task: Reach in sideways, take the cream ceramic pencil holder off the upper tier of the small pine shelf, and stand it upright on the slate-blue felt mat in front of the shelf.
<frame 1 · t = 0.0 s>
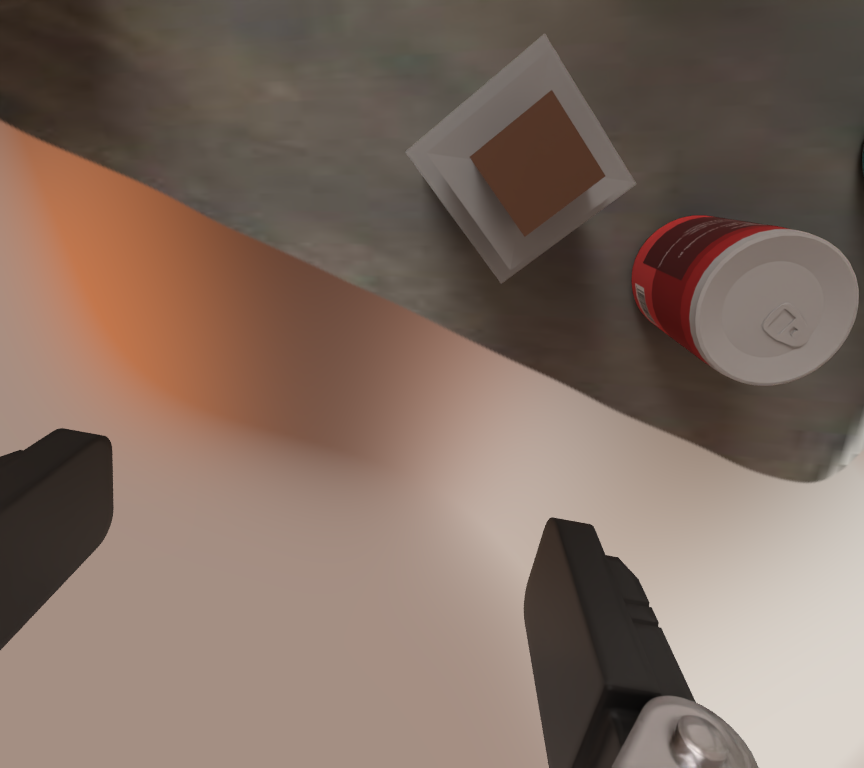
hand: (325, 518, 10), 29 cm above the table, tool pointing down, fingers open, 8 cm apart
perfume bottle: (495, 170, 35), on the table
canned food: (685, 273, 37), on the table
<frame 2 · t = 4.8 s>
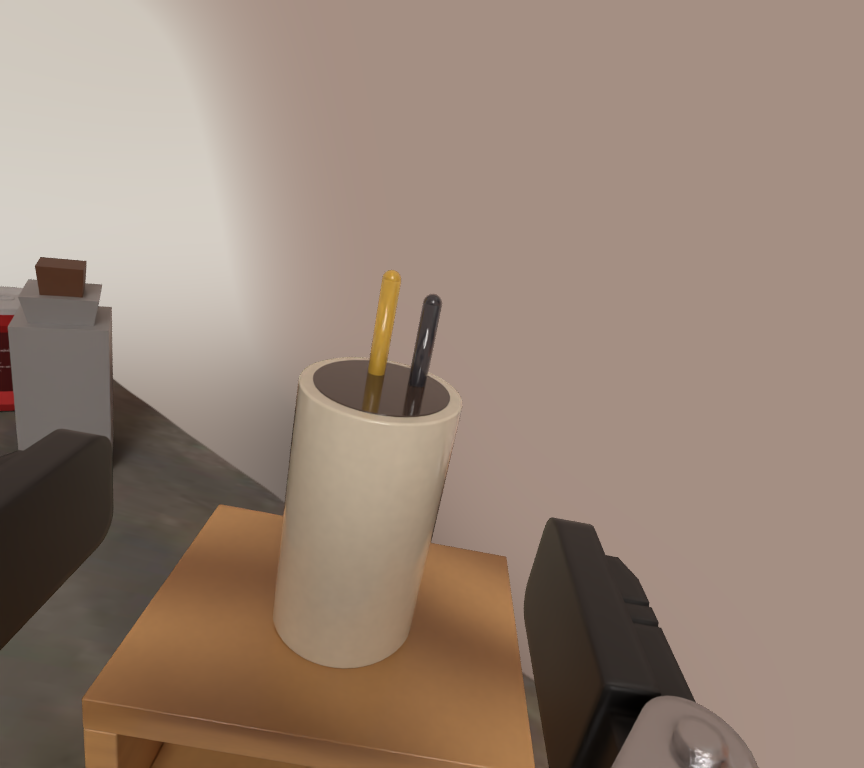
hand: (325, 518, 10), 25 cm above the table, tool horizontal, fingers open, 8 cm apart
perfume bottle: (71, 456, 52), on the table
holder: (344, 610, 25), point 12 cm above the table, touching shelf
canned food: (12, 398, 60), on the table
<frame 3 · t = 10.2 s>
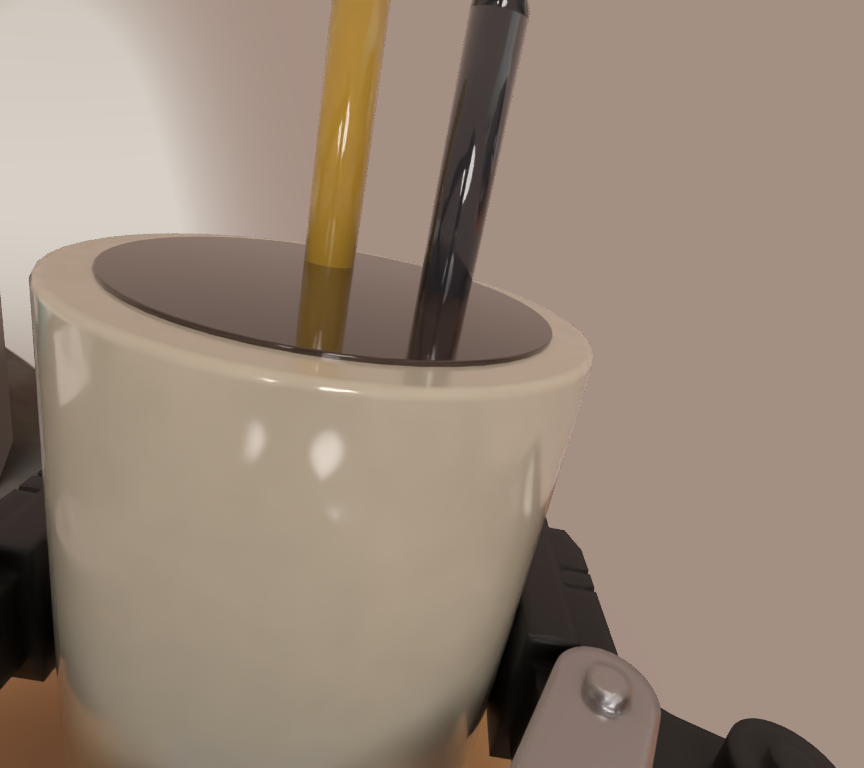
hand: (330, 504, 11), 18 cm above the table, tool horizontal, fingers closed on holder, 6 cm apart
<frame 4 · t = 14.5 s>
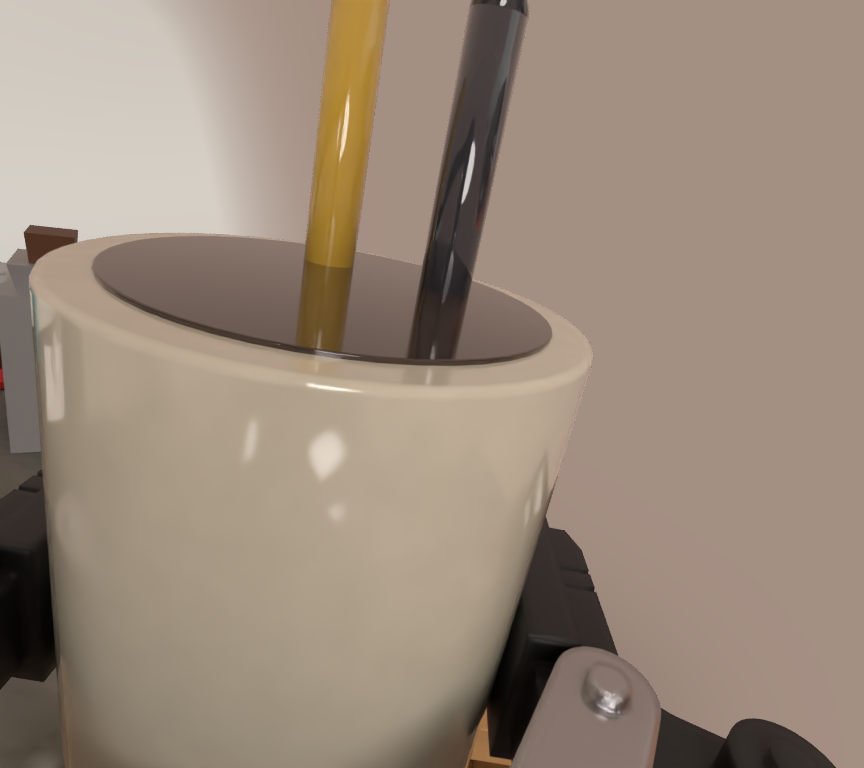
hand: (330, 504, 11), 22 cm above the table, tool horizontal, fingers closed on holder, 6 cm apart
perfume bottle: (63, 434, 50), on the table
shelf: (315, 764, 28), on the table
when the fingers open (7 cm above the table, at t = 19.1 s): holder stays where it is, resting on mat.
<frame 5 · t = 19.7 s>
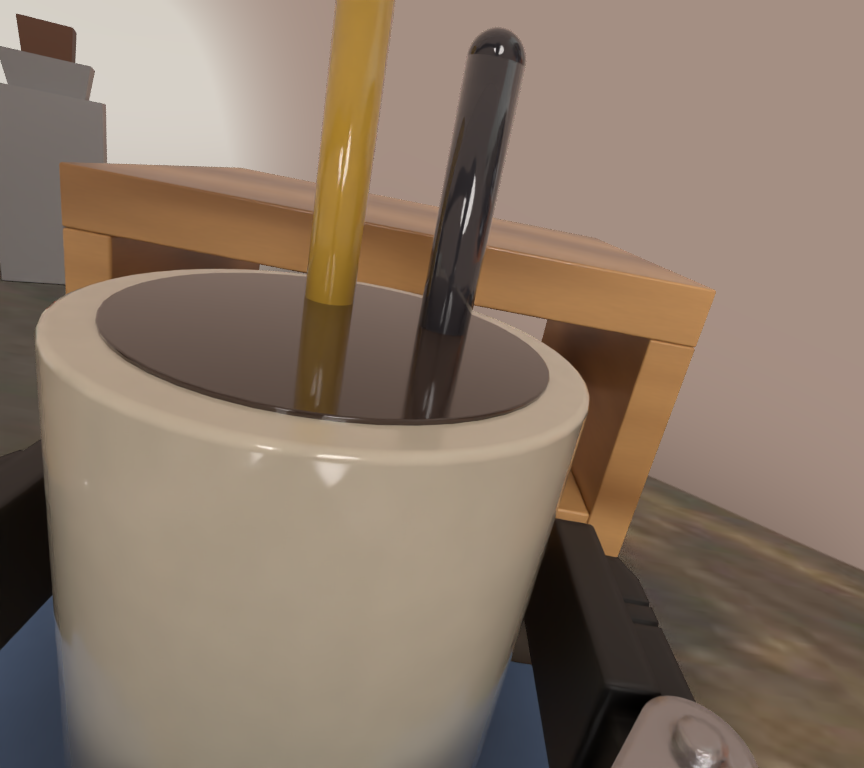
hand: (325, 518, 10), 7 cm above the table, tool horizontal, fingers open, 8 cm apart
perfume bottle: (60, 275, 46), on the table
shelf: (362, 508, 23), on the table
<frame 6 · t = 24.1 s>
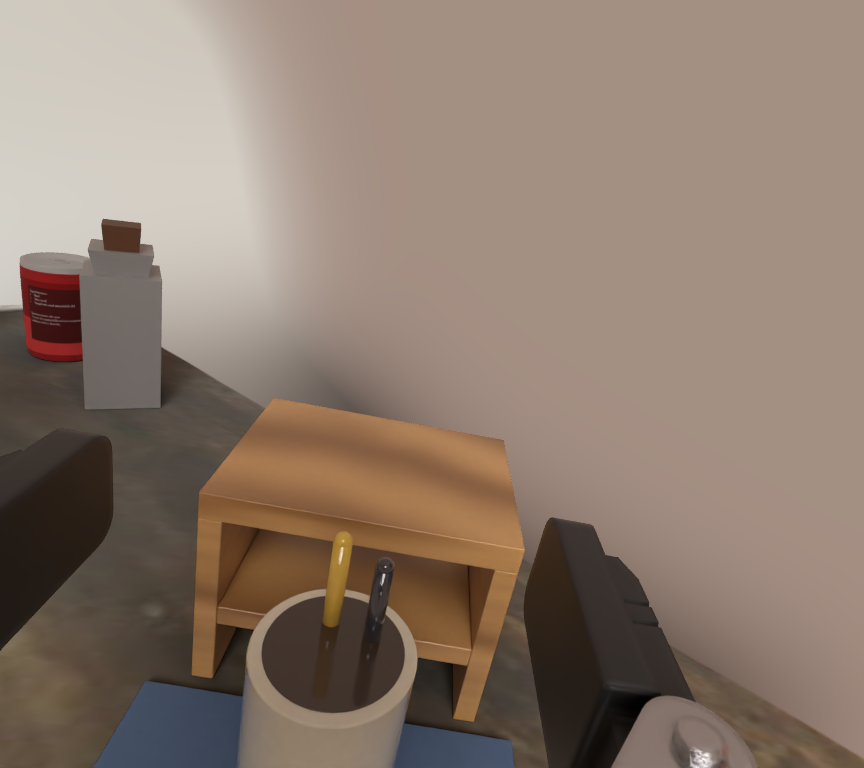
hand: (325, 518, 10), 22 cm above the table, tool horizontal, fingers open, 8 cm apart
perfume bottle: (124, 396, 60), on the table
shelf: (351, 618, 37), on the table
canned food: (65, 352, 67), on the table
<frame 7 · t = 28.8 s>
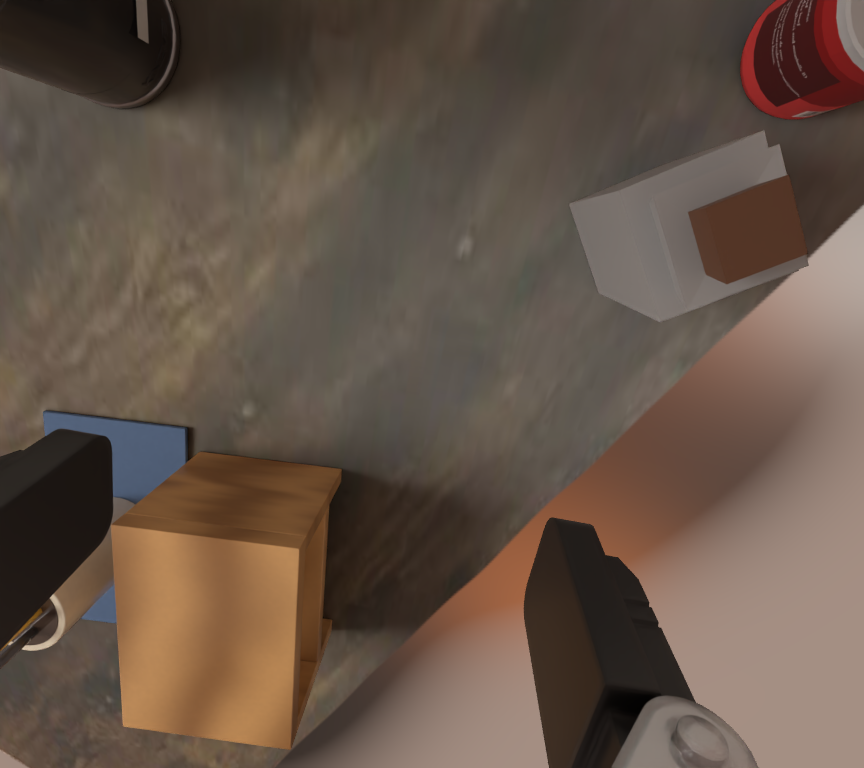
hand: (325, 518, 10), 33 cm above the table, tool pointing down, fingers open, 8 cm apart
perfume bottle: (629, 230, 40), on the table
shelf: (268, 544, 48), on the table
holder: (119, 529, 48), resting on mat
canned food: (797, 58, 36), on the table
mat: (122, 525, 49), on the table
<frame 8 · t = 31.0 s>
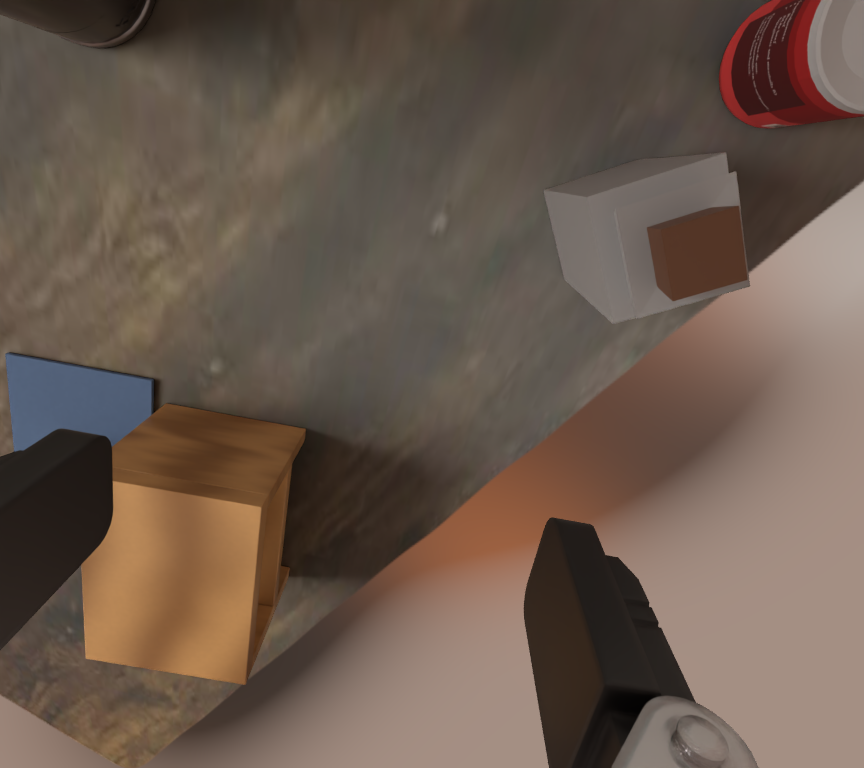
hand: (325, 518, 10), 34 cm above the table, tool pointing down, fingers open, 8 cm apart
perfume bottle: (598, 221, 41), on the table
shelf: (231, 495, 50), on the table
canned food: (774, 66, 37), on the table
mat: (85, 469, 50), on the table
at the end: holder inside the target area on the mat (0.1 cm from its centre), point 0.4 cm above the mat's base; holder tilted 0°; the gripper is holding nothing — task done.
